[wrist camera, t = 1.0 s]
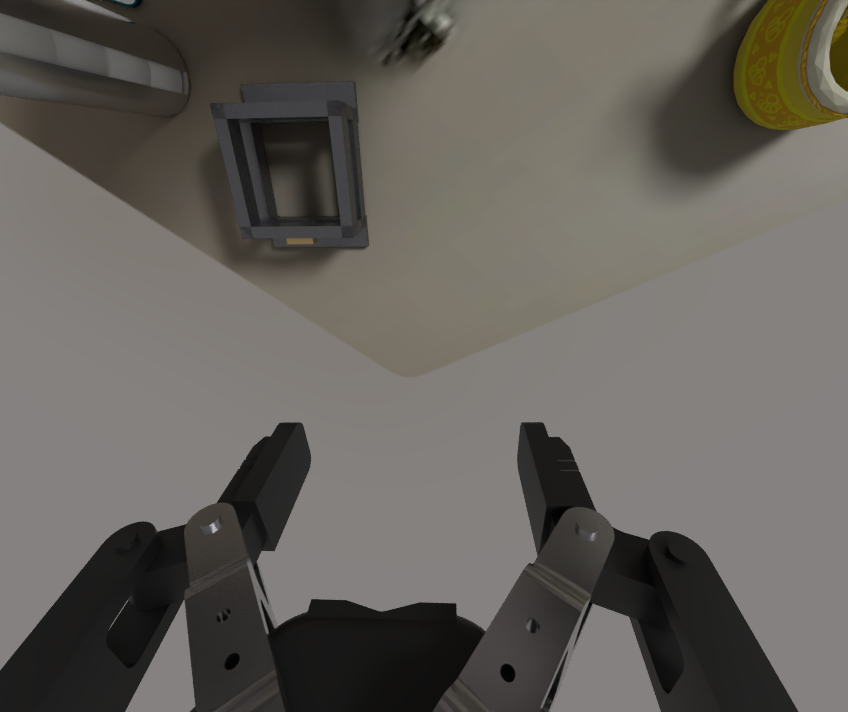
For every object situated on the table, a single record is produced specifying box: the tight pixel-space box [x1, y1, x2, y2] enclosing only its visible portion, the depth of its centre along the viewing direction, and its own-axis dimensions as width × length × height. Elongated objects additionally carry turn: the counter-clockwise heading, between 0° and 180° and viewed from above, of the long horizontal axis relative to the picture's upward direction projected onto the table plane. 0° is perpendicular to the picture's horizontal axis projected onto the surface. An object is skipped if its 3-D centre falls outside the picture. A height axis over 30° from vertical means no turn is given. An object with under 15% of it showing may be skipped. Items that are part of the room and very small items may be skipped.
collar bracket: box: [210, 81, 369, 247], centre depth 33 cm, size 14×10×6 cm
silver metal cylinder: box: [0, 0, 190, 117], centre depth 22 cm, size 6×6×25 cm
